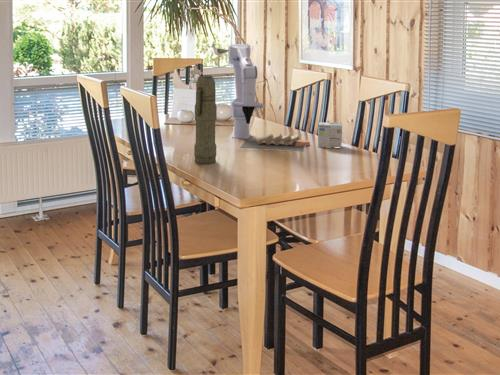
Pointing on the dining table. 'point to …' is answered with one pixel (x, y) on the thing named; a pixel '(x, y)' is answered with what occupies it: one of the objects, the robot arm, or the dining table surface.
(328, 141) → the light bulb box
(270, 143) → the domino
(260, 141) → the domino
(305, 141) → the domino
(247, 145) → the rubber mat
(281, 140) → the domino
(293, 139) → the domino
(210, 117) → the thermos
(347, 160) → the dining table surface
